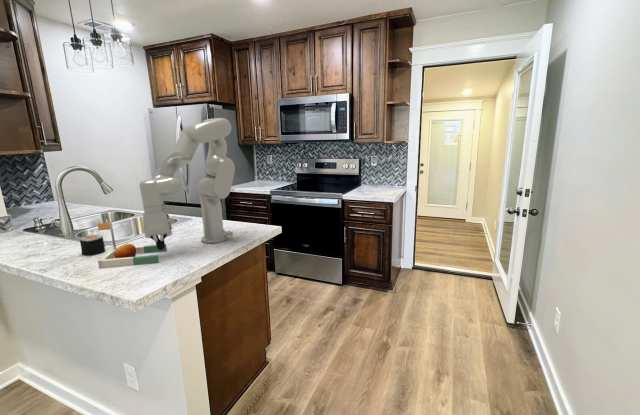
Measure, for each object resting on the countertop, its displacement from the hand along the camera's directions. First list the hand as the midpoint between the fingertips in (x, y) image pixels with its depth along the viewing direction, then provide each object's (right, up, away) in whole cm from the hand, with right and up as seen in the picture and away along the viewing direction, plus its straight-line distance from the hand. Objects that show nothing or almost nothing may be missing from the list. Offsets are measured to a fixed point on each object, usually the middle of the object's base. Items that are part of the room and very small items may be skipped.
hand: (161, 248), depth 132 cm
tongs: (-12, -4, -3) cm, 13 cm away
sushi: (-34, -3, +6) cm, 34 cm away
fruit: (-13, -4, -3) cm, 14 cm away
